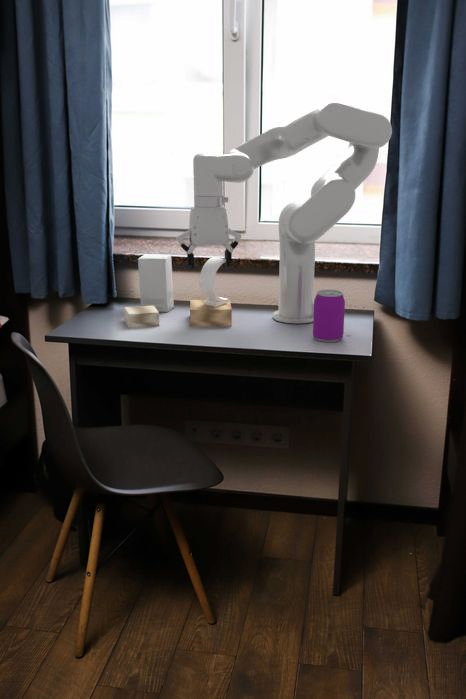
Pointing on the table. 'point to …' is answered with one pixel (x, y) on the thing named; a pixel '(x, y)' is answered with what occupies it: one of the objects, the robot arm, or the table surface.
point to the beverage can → (328, 316)
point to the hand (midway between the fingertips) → (209, 267)
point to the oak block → (210, 314)
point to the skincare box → (156, 281)
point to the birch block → (141, 316)
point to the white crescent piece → (211, 282)
